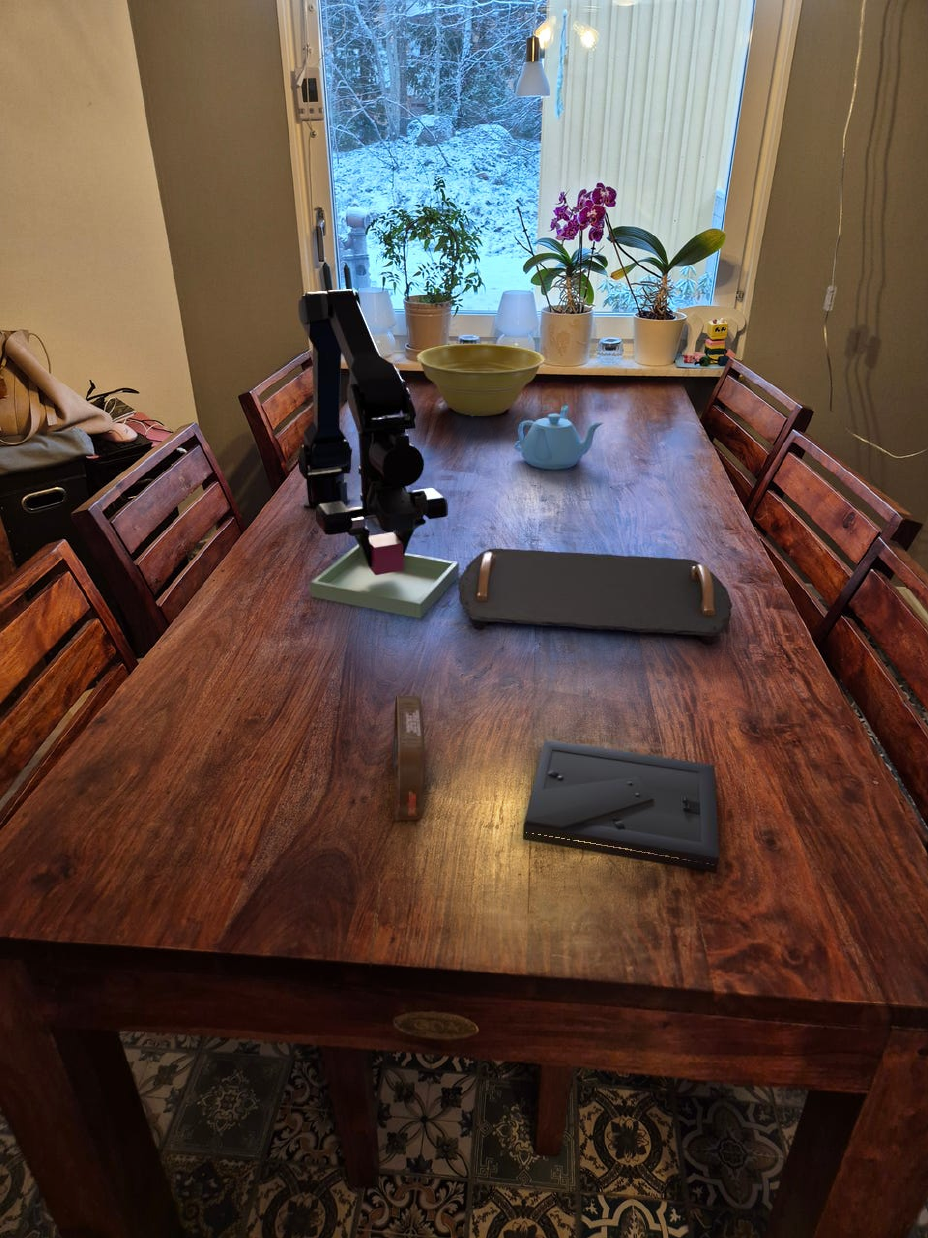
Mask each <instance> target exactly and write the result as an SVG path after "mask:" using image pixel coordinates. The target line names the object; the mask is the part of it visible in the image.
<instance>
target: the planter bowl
mask: <svg viewBox="0 0 928 1238" xmlns="http://www.w3.org/2000/svg"><path fill="white" fill-rule="evenodd" d="M415 358H416V360H417V362H418V363H420V364H421V365H420V366H421V368H422V371H423V373H424V375H425V377H426V378H427V379H428V380H429V381H431V382H432V383H433V384H434V385H435V386H436V388H437V390H438V393H439V394H440V396H441V398H442V400H443V401H444V403H445V404H446V406H447V407H448V408H450V409H452V410H453V412H456V413H458V414H460V415H461V414H462V415H465V416H473V417H487V416H488V417H489V416H497V415H500V414H503V413H505V412H506V411H507V410H508V409H509V410H510V408H512V407H513V405H514V404H515V403H516V402H517V400H518V398H519V397H520V395H521V392H522V391H523V390H524V389H523V388H524V387H525V386H526V385H528V384H529V383H531V382H532V381H533V380H534V379H535V377H536V375H537V373H538V372H539V371H538V370H539V369H540V366H542V365H543V364H544V363H545V357H544V356H543V355H542V354H541V353H539V352H537V351H534V350H531V349H527V348H524V347H519V346H513V345H505V344H494V343H457V344H448V345H440V346H435V347H431V348H427V349H425V350H422V351H421V352H419V353H418V354H417V355H416V357H415Z"/></svg>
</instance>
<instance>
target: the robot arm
mask: <svg viewBox="0 0 928 1238" xmlns="http://www.w3.org/2000/svg"><path fill="white" fill-rule="evenodd" d="M297 306H298V308H297V310H298V318H299V321H300V324H301V326H302V328H303V330H304V332H305V334H306V336H307V338H308V339H309V341H310V343H311V344H312V420H311V422H310V423H309V425H307V427H306V429H305V430H304V431H303V437H302V445H300V447H299V448H300V449H299V453H298V457H297V464H298V471H299V473H300V475H301V476H302V477H303V478H304V480H305V481H306V482H305V483H306V493H307V502H305V503H304V504H303V508H307V509H311V510H312V509H313V510H314V516H315V522H316V524H317V525H318V526H319V528H320V530H321V531H322V532H323V534H324V535H328V536H335V535H339V534H346V533H347V535H348V536H350V537H354V538H355V540H356V543H357V545H359V547H360V549H361V551H362V554H363V556H364V558H365V560H366V563H367V565H368V566H369V567H372V556H371V549H370V542H369V536H370V535H371V531H370V529H369V528H368V527H367V525H366V520H369V519H372V518H377V520H378V522H379V524H380V525H379V527H380V529H381V531H383V532H384V533H390V532H393V533H394V532H395V535H396V536H397V537H398V538H399V539H400V540H401V541H402V543H403V557H404V554H405V553H407V552H406V551H407V549H408V546H409V544H410V540H411V538H412V536H413V534H414V532H415V530H416V529H418V528H419V527H420V526H423V525H424V526H425V524H426V523H427V520H426V519H425V518H424V516H425V517H426V518H427V519H429V520H435V519H440V518H446V517H447V516H448V515H449V504H448V501H447V499H446V498H445V497H443V495H442V494H441V493H439V492H438V491H437V490H436V489H435V488H433V487H427V488H422V489H414V490H407V487H409V486H411V485H413V484H415V483H416V482H417V481H418V480H419V479H420V478H421V476H422V475H423V472H424V469H425V468H424V467H425V459H424V458H423V453H421V451H420V449H418V448H417V447H416V446H415V445H413V444H412V443H411V442H410V435H409V434H408V433H406V430H416V427H417V425H416V418H417V412H416V408H415V406H414V403H413V400H412V396H411V394H410V393H411V392H410V391H409V388H408V387H407V383H406V381H405V380H404V379H402V377H401V375H400V372H399V373H398V371H397V370H396V369H397V368H396V366H395V365H394V363H392V362H390V361H389V360H387V359H385V358H384V357H382V356H381V354H380V353H379V350H378V348H377V347H378V346H377V345H376V343H375V340H374V338H373V335H372V333H371V331H370V328H369V325H368V324H367V321H366V319H365V315H364V314H363V312H362V309H361V308H362V307H361V299H360V295H359V292H358V291H357V290H354V289H352V288H351V289H350V288H349V289H331V290H330V289H328V290H326V291H308V292H305V293H304V295H302V296H301V299H299V300H298V305H297ZM342 356H343V359H344V361H345V364H346V366H347V369H348V371H349V377H348V378H349V379H348V384H347V387H346V399H347V405H348V408H349V410H350V414H351V416H352V419H353V422H354V425H355V427H356V430H357V433H358V449H359V451H358V452H359V466H358V474H359V475H360V487H361V488H360V489H361V493H359V500H360V502H361V504H362V505H360V506H353V507H347V506H346V504H348V503H349V502H350V501H351V498H350V497H348V485H347V484H348V483H347V480H345V474H346V475H348V474H351V470H352V456H353V447H351V445H350V441H348V439H347V436H346V435H345V433H344V430H343V428H342V427H341V425H340V424H341V423H340V418H341V386H342V385H341V384H342ZM400 412H401V417H392V418H384V417H383V416H393V415H399V414H400Z"/></svg>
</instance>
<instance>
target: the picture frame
mask: <svg viewBox="0 0 928 1238" xmlns="http://www.w3.org/2000/svg"><path fill="white" fill-rule="evenodd" d="M715 772H716V771H715V765H714V764H709V763H703V762H695V761H692V760H691V761H690V760H683V759H677V758H671V757H664V756H656V755H651V754H645V753H638V752H630V751H623V750H616V749H610V748H603V747H599V746H591V745H584V744H578V743H571V742H565V741H558V740H557V741H556V740H552V739H544V740H543V743H542V748H541V753H540V756H539V761H538V764H537V769H536V772H535V777H534V781H533V785H532V789H531V792H530V793H531V794H530V797H529V801H528V805H527V809H526V814H525V816H524V817H525V818H524V820H523V821H524V822H523V828H522V840H526V841H531V842H537V843H541V844H548V845H554V846H560V847H565V848H571V849H577V850H582V851H589V852H594V853H600V854H606V855H611V856H618V857H623V858H628V859H634V860H640V861H645V862H652V863H656V864H662V865H669V866H675V867H680V868H685V869H692V870H697V871H698V870H699V871H702V872H703V871H704V872H709V873H717V871H718V866H719V862H720V844H719V843H720V841H719V826H718V823H719V822H718V808H717V806H718V805H717V792H716V791H717V790H716V773H715ZM526 832H527V833H526ZM532 833H534V834H532ZM538 834H541V835H538ZM544 835H547V836H544ZM549 836H553V837H549ZM555 837H560V838H555ZM561 838H565V839H561ZM567 839H570V840H567ZM573 840H579V841H585V842H591V843H596V844H602V845H608V846H614V847H621V848H628V849H632V850H636V851H642V852H650V853H654V854H658V855H654V854H648V853H642V852H636V851H630V850H625V849H619V848H613V847H607V846H601V845H596V844H590V843H584V842H578V841H573ZM659 855H668V856H670V857H665V856H659ZM671 857H678V858H679V859H677V858H671ZM682 859H687V860H682ZM688 860H691V861H688ZM694 861H699V862H694ZM700 862H702V863H700ZM706 863H709V864H706ZM711 864H714V865H711ZM717 865H718V866H717Z"/></svg>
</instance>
